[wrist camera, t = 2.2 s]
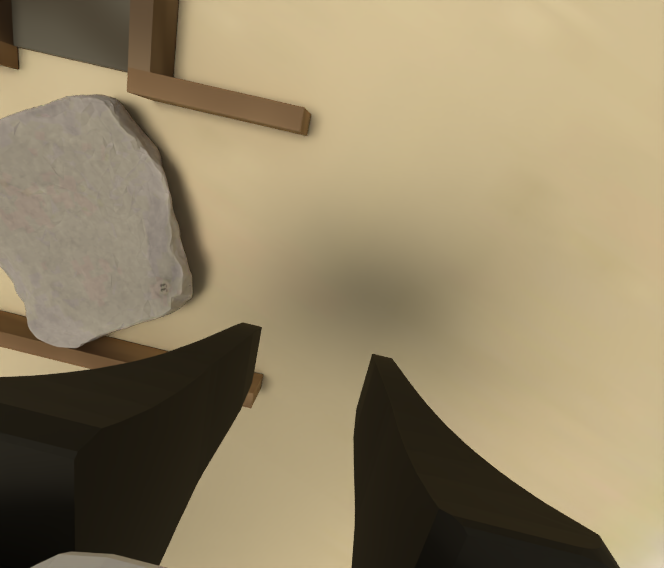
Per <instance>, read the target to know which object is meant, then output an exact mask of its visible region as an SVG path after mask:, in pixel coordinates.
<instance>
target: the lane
mask: <svg viewBox="0 0 664 568" xmlns="http://www.w3.org/2000/svg"><path fill="white" fill-rule="evenodd" d="M178 3H179V0H0V65H2V66H6V67H10V68H15V69H18V50H17V47H20V48H24V49H28V50H33V51H37V52H41V53H46V54H50V55H55V56H59V57H63V58H68V59H72V60H76V61H81V62H85V63H89V64H94V65H98V66H102V67H107V68H111V69H116V70H120V71H124V72H128V78H127V92H129V93H132V94H135V95H138V96H141V97H144V98H147V99H150V100H154V101H158V102H162V103H167V104H171V105H175V106H180V107H184V108H188V109H193V110H197V111H201V112H206V113H210V114H214V115H219V116H223V117H227V118H232V119H236V120H240V121H245V122H249V123H253V124H258V125H262V126H266V127H271V128H275V129H279V130H284V131H288V132H292V133H297V134H301V135H305V136H307V133H308V128H309V122H310V117H311V114H310V113H309V112H308V111H307V110H306V109H305V108H304V107H300V106H295V105H291V104H287V103H282V102H278V101H273V100H269V99H265V98H260V97H256V96H252V95H247V94H243V93H239V92H234V91H230V90H225V89H221V88H217V87H212V86H208V85H204V84H199V83H195V82H191V81H186V80H182V79H177V78H173V73H174V59H175V45H176V31H177V17H178ZM0 347H4V348H8V349H12V350H16V351H20V352H24V353H28V354H32V355H37V356H41V357H45V358H49V359H53V360H57V361H61V362H65V363H69V364H73V365H77V366H81V367H85V368H89V369H96V368H102V367H107V366H112V365H118V364H123V363H128V362H133V361H137V360H141V359H145V358H149V357H153V356H156V355H160V354H163V353H166V352H168V351H164V350H160V349H156V348H152V347H147V346H143V345H139V344H135V343H131V342H127V341H123V340H119V339H115V338H111V337H106V336H103V337H100V338H98V339H96V340H93V341H90V342H88V343H85V344H84V345H82V346H80V347H78V348H64V347H56V346H53V345H50V344H48V343H45V342H43V341H41V340H39V339H38V338H36V337H35V336H34V334H33V333H32V332H31V331H30V329H29V327H28V323H27V317H24V316H20V315H16V314H12V313H8V312H4V311H0ZM262 378H263V375H262V374H258V373H254V375H253V381H252V384H251V387H250V389H249V392H248V394H247V396H246V399H245V401H244V403H243V405H242V406H244V407H248V408H251V407H252V405H253V403H254V401H255V399H256V397H257V395H258V393H259V391H260V389H261V384H262Z"/></svg>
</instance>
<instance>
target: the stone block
mask: <svg viewBox="0 0 664 568" xmlns="http://www.w3.org/2000/svg"><path fill="white" fill-rule="evenodd" d="M0 267H1V268H2V269H3V270H4V271H5V273H6V274H7V275H8V276H9V277H10V279H11V281H12V282H13V284H14V286H15V290H16V292H17V294H18V296H19V297H20V298H21V300H22V301H23V302H24V304H25V309H26V317H27V323H28V327H29V329H30V331H31V332H32V333H33V334H34V336H35V337H36V338H38V339H39V340H41V341H43V342H45V343H48V344H50V345H53V346H56V347H64V348H78V347H80V346H82V345H84V344H85V343H88V342H90V341H93V340H96V339H98V338H100V337H103V336H105V335H107V334H109V333H111V332H114V331H117V330H120V329H126V328H128V327H131V326H133V325H136V324H139V323H142V322H146V321H150V320H154V319H157V318H160V317H162V316H165V315H168V314H171V313H173V312H174V311H176V310H178V309H180V308H181V307H182V306H183V305H184V304H185V303H186V302H187V301H188V300H189V299H191V298H192V295H193V287H192V274H191V272H190V270H189V266H188V262H187V257H186V254H185V252H184V249H183V246H182V242H181V238H180V230H179V225H178V222H177V220H176V217H175V214H174V210H173V207H172V198H171V194H170V191H169V186H168V181H167V179H166V176H165V172H164V170H163V166H162V159H161V155H160V153H159V150H158V148H157V147H156V146H155V145H154V143H153V142H152V141H151V140H150V139H149V138H148V137H147V135H146V134H145V133H144V132H143V131H142V130H141V128H140V127H139V126H138V124H137V123H136V122H135V121H134V120H133V119H132V118H131V116H130V114H129V113H128V112H127V111H126V109H125V108H124V106H123V105H122V104H121V103H120V102H119V101H118V100H116V99H115V98H112V97H108V96H105V95H97V94H96V95H76V96H66V97H64V98H61V99H57V100H55V101H52V102H50V103H48V104H45V105H41V106H38V107H33V108H31V109H26V110H23V111H20V112H17V113H15V114H12V115H9V116H7V117H4V118H2V119H0Z"/></svg>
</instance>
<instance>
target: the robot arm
mask: <svg viewBox="0 0 664 568" xmlns="http://www.w3.org/2000/svg"><path fill="white" fill-rule="evenodd" d="M261 329H262V327H259V326H255V325H251V324H247V323H240V324H237V325H235V326H232V327H230V328H228V329H225V330H223V331H221V332H219V333H216V334H214V335H212V336H209V337H207V338H205V339H202V340H200V341H197V342H194V343H192V344H189V345H186V346H183V347H181V348H178V349H175V350H172V351H169V352H166V353H163V354H160V355H156V356H153V357H149V358H145V359H141V360H137V361H133V362H128V363H123V364H118V365H112V366H107V367H102V368H96V369H90V370H83V371H75V372H67V373H57V374H47V375H35V376H17V377H0V568H166V567H162V566H159V565H160V562H161V560H162V558H163V556H164V554H165V551H166V549H167V547H168V545H169V543H170V541H171V538H172V536H173V534H174V532H175V530H176V527H177V525H178V523H179V521H180V519H181V517H182V514H183V512H184V510H185V508H186V506H187V504H188V502H189V500H190V498H191V495H192V493H193V491H194V489H195V487H196V485H197V483H198V481H199V480H200V478H201V476H202V474H203V472H204V470H205V469H206V467H207V465H208V464H209V462H210V460H211V459H212V457H213V455H214V454H215V452H216V450H217V449H218V447H219V445H220V444H221V442H222V440H223V439H224V437H225V435H226V434H227V432H228V430H229V429H230V427H231V425H232V424H233V422H234V420H235V419H236V417H237V415H238V413H239V412H240V410H241V408H242V405H243V403H244V401H245V399H246V396H247V394H248V392H249V389H250V387H251V384H252V381H253V375H254V369H255V363H256V358H257V352H258V346H259V340H260V335H261ZM354 486H355V529H354V543H353V557H352V568H620V567H619V566H618V564H617V562H616V561H615V559H614V558H613V556H612V555H611V553H610V551H609V550H608V548H607V547H606V545H605V544H604V542H603V541H602V539H601V537H600V536H599V535H598V534H596V533H595V532H593V531H591V530H590V529H588V528H586V527H585V526H583V525H581V524H580V523H578V522H576V521H574V520H573V519H571V518H569V517H568V516H566V515H564V514H563V513H561V512H559V511H558V510H556V509H554V508H553V507H551V506H549V505H548V504H546V503H544V502H543V501H541V500H540V499H538V498H537V497H535V496H534V495H532V494H531V493H529V492H528V491H526V490H525V489H523V488H522V487H521V486H519V485H518V484H516V483H515V482H513V481H512V480H511V479H509V478H508V477H506V476H505V475H504V474H502V473H501V472H500V471H498V470H497V469H496V468H494V467H493V466H492V465H491V464H489V463H488V462H487V461H486V460H484V459H483V458H482V457H481V456H479V455H478V454H477V453H476V452H475V451H473V450H472V449H471V448H470V447H469V446H468V445H466V444H465V443H464V442H463V441H462V440H461V439H460V438H459V437H458V436H457V435H456V434H455V433H454V432H453V431H452V430H450V429H449V428H448V427H447V426H446V425H445V424H444V423H443V422H442V420H441V419H440V418H439V417H438V416H437V415H436V414H435V413H434V412H433V410H432V409H431V408H430V407H429V406H428V405H427V404H426V402H425V401H424V400H423V399H422V398H421V396H420V395H419V394H418V393H417V391H416V390H415V389H414V388H413V386H412V385H411V384H410V382H409V381H408V380H407V378H406V377H405V375H404V374H403V373H402V371H401V370H400V369H399V367H398V366H397V364H396V363H395V362H394V361H393V359H392V358H388V357H384V356H380V355H375V354H372V357H371V360H370V364H369V367H368V371H367V374H366V377H365V381H364V384H363V388H362V391H361V395H360V398H359V402H358V405H357V409H356V418H355V428H354Z"/></svg>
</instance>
